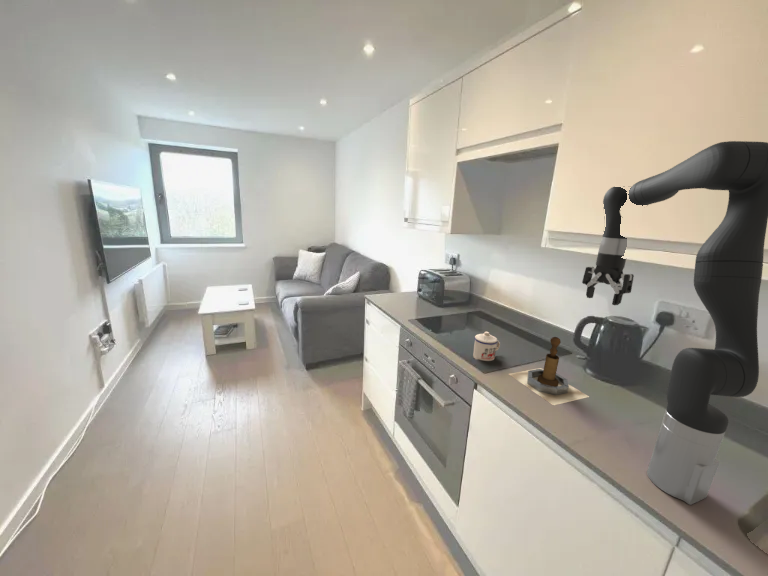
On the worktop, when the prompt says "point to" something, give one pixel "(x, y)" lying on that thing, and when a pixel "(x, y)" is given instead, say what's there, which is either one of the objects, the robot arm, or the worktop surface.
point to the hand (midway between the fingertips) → (601, 301)
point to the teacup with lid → (485, 347)
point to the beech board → (552, 399)
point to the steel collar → (546, 388)
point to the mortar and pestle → (551, 365)
